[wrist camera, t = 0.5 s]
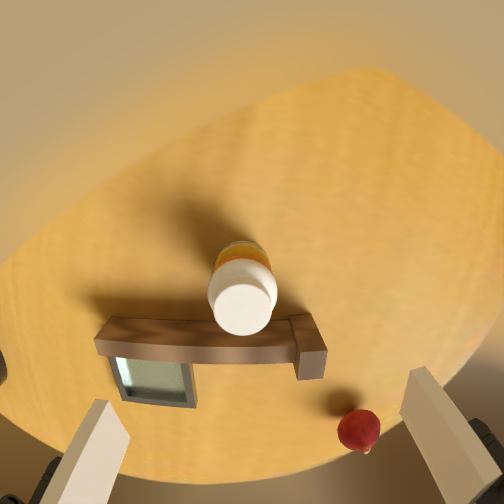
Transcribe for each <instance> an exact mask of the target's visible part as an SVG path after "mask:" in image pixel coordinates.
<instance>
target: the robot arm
mask: <svg viewBox="0 0 504 504" xmlns="http://www.w3.org/2000/svg"><path fill="white" fill-rule="evenodd" d="M6 378H7V369H6V364H5V361H4V359H3V356H2V354H1V352H0V386H1V385H2V384H3V382H4V381H5V380H6ZM399 413H400V415H401V417H402V418H403V420H404V422H405V424H406V426H407V428H408V429H409V431H410V433H411V435H412V437H413V438H414V441H415V442H416V444H417V446H418V448H419V450H420V452H421V454H422V456H423V458H424V459H425V461H426V463H427V465H428V467H429V469H430V471H431V473H432V475H433V477H434V479H435V481H436V483H437V485H438V487H439V489H440V491H441V494H442V496H443V498H444V500H445V502H446V504H474V503H475V502H476V504H504V448H503V447H502V445H501V444H500V443H499V441H498V440H496V437H495V436H494V434H491V431H490V429H489V428H488V426H487V425H486V424H485V423H484V422H482V421H480V420H479V419H477V418H474V419H472V420H471V421H469V422H467V421H466V420H465V418H464V417H463V415H462V414H461V413H460V411H459V410H458V409H457V407H456V406H455V405H454V403H453V402H452V401H451V399H450V398H449V397H448V395H447V394H446V393H445V391H444V390H443V389H442V388H441V386H440V385H439V384H438V382H437V381H436V380H435V379H434V377H433V376H432V375H431V373H430V372H429V371H428V370H427V368H426V367H425V366H423V367H420V368H417V369H414V370H411V371H410V374H409V378H408V382H407V386H406V390H405V394H404V398H403V402H402V405H401V409H400V412H399ZM130 439H131V438H130V437H129V435H128V433H127V432H126V430H125V428H124V427H123V425H122V423H121V422H120V420H119V418H118V416H117V415H116V413H115V411H114V409H113V407H112V405H111V404H110V402H109V401H108V400H99V399H95V401H94V403H93V404H92V406H91V408H90V409H89V411H88V413H87V415H86V416H85V418H84V420H83V422H82V423H81V425H80V427H79V429H78V430H77V432H76V434H75V436H74V438H73V439H72V441H71V443H70V445H69V447H68V448H67V450H66V452H65V454H64V456H63V458H61V457H58V456H57V457H56V458H55V459H54V460H52V461H51V462H50V463H49V465H48V467H47V469H46V471H45V473H44V474H43V476H42V480H40V482H39V484H38V486H37V488H36V490H35V492H34V494H33V496H32V498H31V500H30V502H29V503H28V504H107V501H108V499H109V496H110V492H111V490H112V487H113V484H114V482H115V479H116V476H117V473H118V471H119V468H120V465H121V462H122V460H123V457H124V454H125V452H126V449H127V447H128V444H129V441H130ZM0 504H25V503H24V502H22V501H21V500H20V499H19V498H18V497H17V496H15V495H12V494H7V495H5V496H3V497H2V498H1V499H0Z"/></svg>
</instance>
